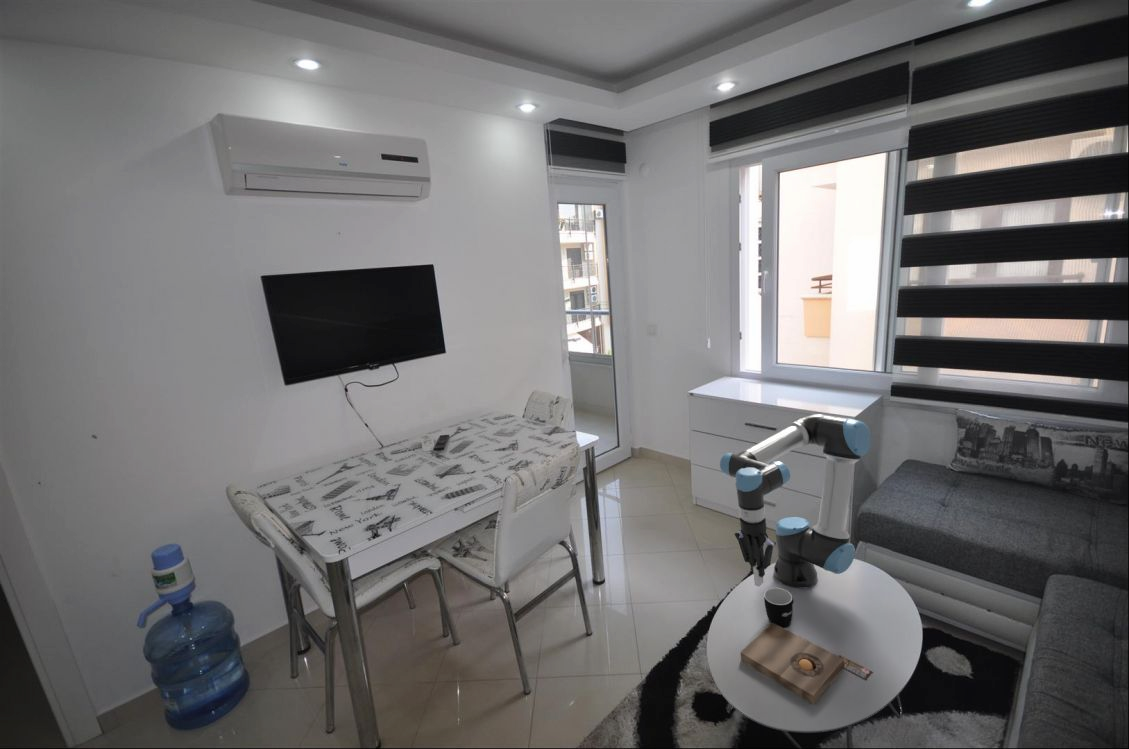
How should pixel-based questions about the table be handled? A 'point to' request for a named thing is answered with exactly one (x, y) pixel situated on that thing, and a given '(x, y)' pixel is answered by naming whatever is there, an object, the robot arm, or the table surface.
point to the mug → (779, 606)
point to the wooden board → (792, 662)
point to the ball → (805, 665)
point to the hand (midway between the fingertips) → (759, 583)
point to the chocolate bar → (856, 669)
